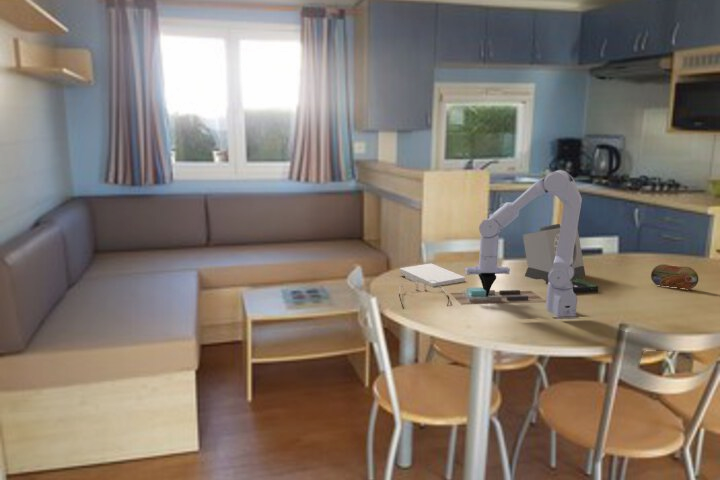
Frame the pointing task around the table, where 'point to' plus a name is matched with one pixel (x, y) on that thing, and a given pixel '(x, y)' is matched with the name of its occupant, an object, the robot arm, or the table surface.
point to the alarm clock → (548, 252)
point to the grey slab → (482, 297)
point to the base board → (531, 298)
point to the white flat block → (431, 275)
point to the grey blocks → (511, 292)
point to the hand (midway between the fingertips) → (485, 295)
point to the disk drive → (582, 286)
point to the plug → (476, 291)
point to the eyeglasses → (424, 289)
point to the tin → (674, 276)
